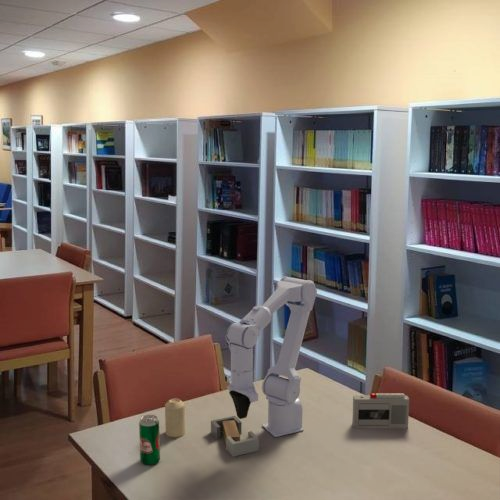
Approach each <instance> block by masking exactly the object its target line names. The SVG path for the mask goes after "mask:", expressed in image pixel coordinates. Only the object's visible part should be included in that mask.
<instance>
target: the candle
mask: <svg viewBox="0 0 500 500" xmlns="http://www.w3.org/2000/svg"><path fill="white" fill-rule="evenodd" d="M185 405H186V404H185V402H183V401H182V400H181V399H180V398H177V397H174V398H171V399H168V401H167V402H166V403H165V404H164V418H165V419H164V422H165V425H164V426H165V436H167V437H169V438H180V437H182V436H184V435H185V433H186V412H185V411H186V410H185V408H186V406H185Z"/></svg>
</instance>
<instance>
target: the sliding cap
mask: <svg viewBox="0 0 500 500" xmlns="http://www.w3.org/2000/svg"><path fill="white" fill-rule="evenodd" d="M225 446H226V447H225V449H226V450H227V451H228V453H229V454H230V455H231V456H232V457H233V458H234V457H237V456H238V457H239V456H241V455H244V454H249V453H255V452H258V451H259V450H260V447H259V446H260V438H259V437H258V436H257V435H256V434H255V433H254V432H253V431H252V430H251V431H248V432H247V438H245V439H242V440H241V439H240V441H237V442H235V441H234V440H233V439H232V438H231V437H230V436H228V437H226V443H225Z"/></svg>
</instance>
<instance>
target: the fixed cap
mask: <svg viewBox="0 0 500 500" xmlns="http://www.w3.org/2000/svg"><path fill="white" fill-rule="evenodd" d="M230 420H235V423H236V426H237V429H238V432H239V435H240V434H241V435H242V434H243V433H242V421H241V419H239V418H238V417H237V415H231V416H227V417H221V418H218V419H213V420H210V433H211V434H212V435H213V437H215V439H217V440H220V439H221V433H223V432H222V421H230Z"/></svg>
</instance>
